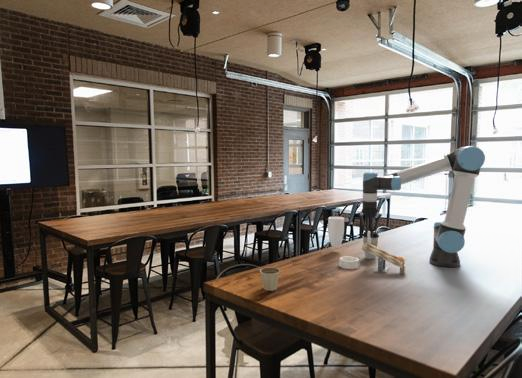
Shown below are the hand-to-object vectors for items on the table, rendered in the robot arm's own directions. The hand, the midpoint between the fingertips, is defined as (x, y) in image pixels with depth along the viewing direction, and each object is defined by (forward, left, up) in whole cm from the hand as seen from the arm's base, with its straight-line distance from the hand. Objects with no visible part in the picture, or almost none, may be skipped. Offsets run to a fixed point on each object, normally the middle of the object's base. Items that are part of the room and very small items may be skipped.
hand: (369, 243), depth 200 cm
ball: (-17, +7, -5) cm, 19 cm away
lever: (-8, +4, -5) cm, 10 cm away
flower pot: (+33, +56, -12) cm, 67 cm away
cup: (+24, -19, -12) cm, 33 cm away
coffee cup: (+2, -14, -12) cm, 18 cm away
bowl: (+9, +7, -12) cm, 17 cm away
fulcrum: (-12, +7, -12) cm, 19 cm away
